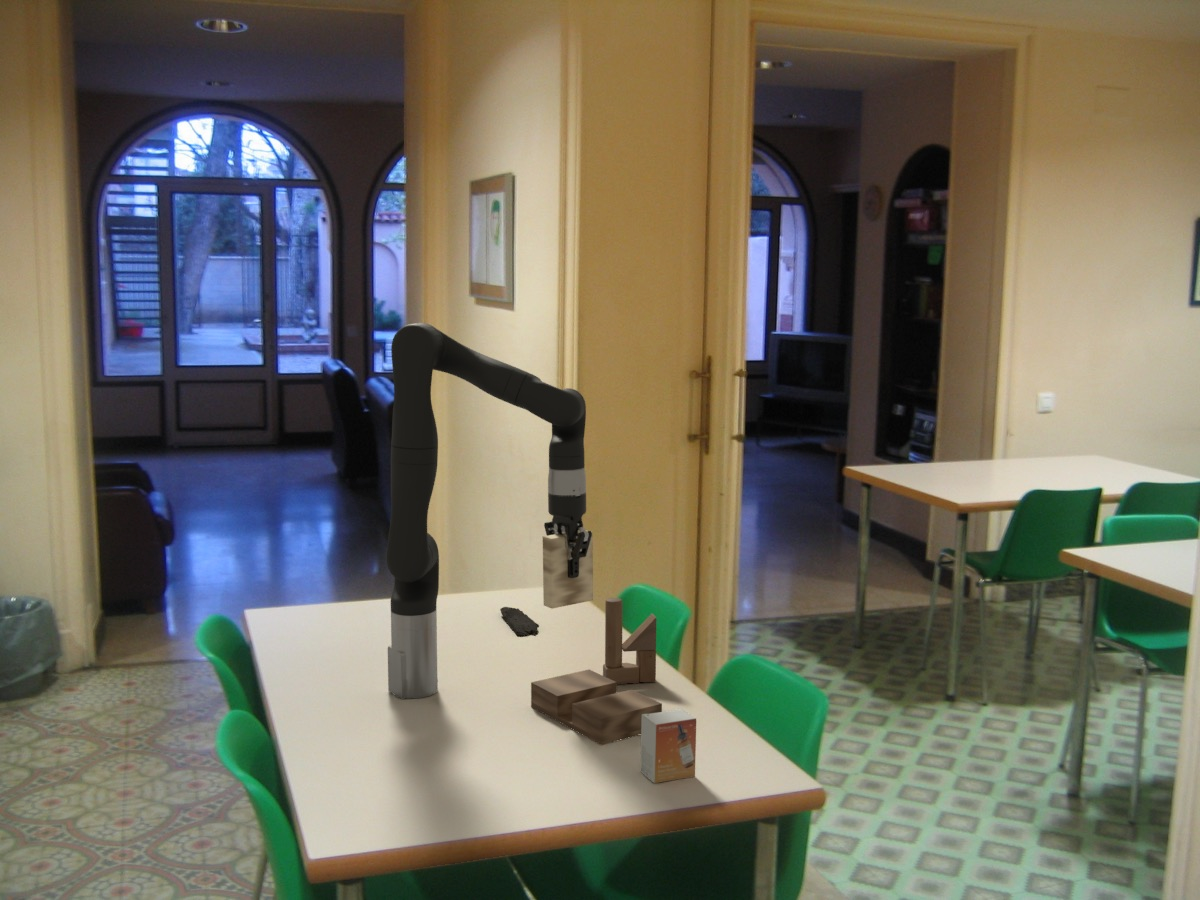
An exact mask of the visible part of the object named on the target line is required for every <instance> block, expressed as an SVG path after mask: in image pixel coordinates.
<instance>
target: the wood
mask: <svg viewBox="0 0 1200 900" xmlns="http://www.w3.org/2000/svg"><path fill="white" fill-rule="evenodd" d="M499 611H500V613H501V616H502V617H503V619H504V622H505V623H506V622H507V623H506V624H508V626H509V627H510V629H512V631H513V632H514V634H515V635H516V636H517V637H519V638H521V637H522V638H525V637H529V636H533V637H536V636H537V634H538V633H539V631H538V627H539V626H540V625H539V623H537V622H535V621H534V620H533V619H532V618H530V617H529V616H528V615H527V613H526V614H525V612H524V611H522V610H521V609H520V608H517V607H510V606H503V607H501V608H500V609H499Z"/></svg>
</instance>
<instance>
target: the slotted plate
mask: <svg viewBox="0 0 1200 900" xmlns="http://www.w3.org/2000/svg"><path fill="white" fill-rule="evenodd" d="M617 690H618V689H617V682H615V681H613V680H611V679H609V678H606V677H604V676H603V674H599V673H598V672H595V671H594V670H592V669H585V670H581V671H575V672H572V673H567V674H562V675H557V676H553V677H550V678H545V679H540V680H536V681H531V682H530V707H531V708H533V709H534V710H537V711H538V710H539V712H540V711H541V712H540V713H542V712H543V714H544V715H546V716H547V715H548V717H549V716H550V717H549V718H550V719H552V720H555V719H556V720H557V722H558V721H559V722H558V723H560V722H561V723H560V724H562V723H563V724H562V725H563V726H565V725H566V727H567V726H568V727H567V728H568V729H571V728H572V729H571V730H573V729H574V730H575V731H574V730H573V731H574V732H576V731H577V732H576V733H578V732H579V733H578V734H580V735H582V734H583V735H584V737H585V736H586V737H585V738H587V737H588V738H587V739H589V740H591V741H593V742H594V743H596V744H598V745H599V746H603V744H604V745H607V744H611V743H615V742H618V741H617V740H619V741H621V740H620V739H622V740H626V739H629V738H628V737H630V738H633V737H632V736H634V737H636V736H635V735H637V736H639V735H638V734H641V721H642V714H651V713H658V712H663V709H662V708H663V703H662V702H660V701H657V700H655V699H653V698H651V697H649V696H647V695H644V694H642V693H640V692H638V691H636V690H635V689H627V690H623V691H618V692H617ZM556 720H555V721H556ZM583 735H582V736H583ZM625 738H626V739H625ZM614 741H615V742H614ZM610 742H611V743H610Z"/></svg>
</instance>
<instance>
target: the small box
mask: <svg viewBox="0 0 1200 900" xmlns="http://www.w3.org/2000/svg"><path fill="white" fill-rule="evenodd" d="M696 738H697V718H696V717H695V716H694V715H692V714H691V713H689V712H688V711H686V709H684V708H676V709H672V710H666V711H665V710H664V711H662V712H658V713H651V714H642V721H641V735H640V773H642V774H643V775H644V776H645V777H646V778H647V779H649V780H650V781H651V782H652V783H654V784H658V783H662V782H668V781H674V780H682V779H690V778H695V776H696V751H697V749H696V748H697V746H696V744H697V739H696Z"/></svg>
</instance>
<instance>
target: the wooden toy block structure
mask: <svg viewBox="0 0 1200 900" xmlns="http://www.w3.org/2000/svg"><path fill="white" fill-rule="evenodd" d="M604 608H605V609H604V611H605V614H604V615H605V617H604V618H605V620H604V621H605V622H604V623H605V624H604V626H605V629H604V630H605V631H604V632H605V633H604V635H605V636H604V639H605V640H604V641H605V642H604V643H605V644H604V647H605V649H604V664H603V665H602V676H604V677H606V678H609V679H611V680H613V681H615V682H617V684H618V685H628V684H627V683H633V684H640V683H639V682H653V683H656V680H657V677H656V675H657V618H658V617H656V616H655V614H654V613H650V614H649V616H647V618H646V619H645V620H644V621H643V622H642V623H641V624H640V625H639V626H638V627H637V628H636V629H635V630H634V631H633V633H632V634H630V635H629V637H627V639H625V641H624V642H623V610H624V609H623V599H621V598H619V597H608V598H606V599H605V607H604ZM623 652H624V653H625V652H636V653H635V655H636V656H635V664H634V663H631V662H623Z"/></svg>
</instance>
